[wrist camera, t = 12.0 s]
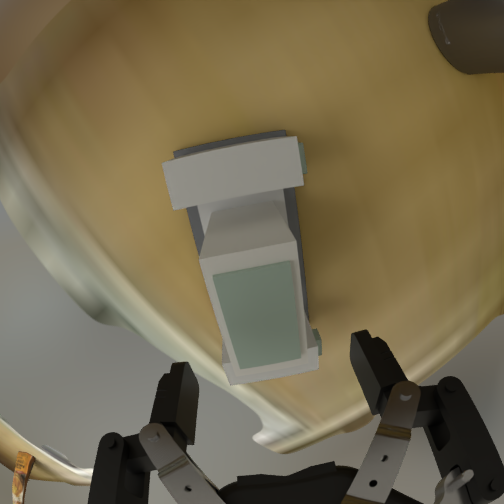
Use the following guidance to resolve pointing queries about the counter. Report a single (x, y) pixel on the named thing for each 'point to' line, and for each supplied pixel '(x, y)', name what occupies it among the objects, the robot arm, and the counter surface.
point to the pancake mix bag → (21, 476)
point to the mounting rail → (244, 203)
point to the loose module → (255, 288)
